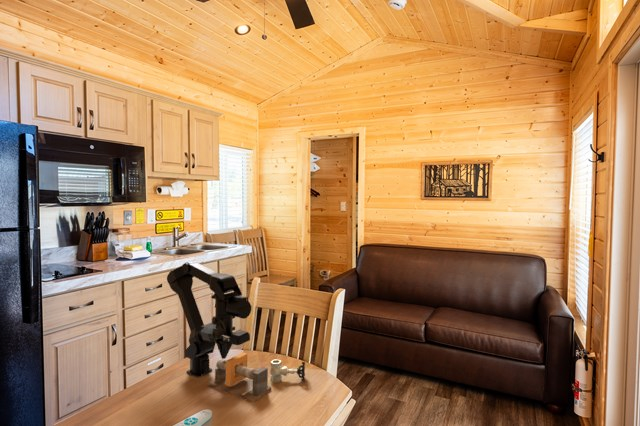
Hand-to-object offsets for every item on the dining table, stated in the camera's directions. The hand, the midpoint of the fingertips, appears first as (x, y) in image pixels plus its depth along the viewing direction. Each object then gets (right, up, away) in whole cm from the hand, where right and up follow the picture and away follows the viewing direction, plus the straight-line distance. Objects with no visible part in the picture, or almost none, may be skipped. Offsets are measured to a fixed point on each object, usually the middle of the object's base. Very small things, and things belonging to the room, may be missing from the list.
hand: (223, 358), depth 129 cm
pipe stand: (+6, -8, -3) cm, 11 cm away
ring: (+5, -6, -3) cm, 9 cm away
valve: (+21, -9, +2) cm, 23 cm away
